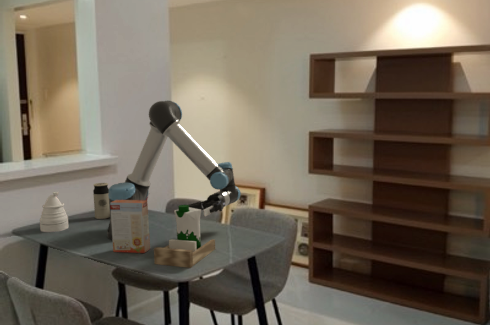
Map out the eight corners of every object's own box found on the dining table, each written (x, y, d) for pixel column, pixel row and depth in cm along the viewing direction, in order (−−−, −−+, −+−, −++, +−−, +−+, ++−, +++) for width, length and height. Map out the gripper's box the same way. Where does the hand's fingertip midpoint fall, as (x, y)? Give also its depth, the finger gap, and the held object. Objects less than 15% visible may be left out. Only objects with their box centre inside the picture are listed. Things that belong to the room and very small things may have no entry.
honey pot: (73, 225, 248) (70, 189, 245) (61, 232, 235) (58, 194, 233) (48, 225, 249) (45, 189, 247) (35, 232, 236) (32, 195, 234)
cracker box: (150, 249, 205) (148, 199, 202) (144, 253, 199) (141, 202, 196) (119, 247, 208) (116, 198, 205) (112, 252, 202) (109, 202, 199)
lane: (154, 264, 186) (153, 248, 185) (182, 246, 208) (181, 232, 207) (190, 267, 181) (189, 251, 180) (215, 249, 202) (214, 234, 202)
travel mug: (96, 216, 265) (94, 183, 263) (111, 215, 266) (109, 182, 264) (93, 219, 258) (91, 185, 255) (109, 218, 258) (107, 184, 256)
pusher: (169, 256, 193) (168, 240, 192) (171, 255, 194) (170, 239, 194) (195, 259, 189) (194, 242, 188) (197, 258, 191) (196, 241, 190)
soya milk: (173, 254, 196) (171, 205, 194) (190, 249, 203) (188, 201, 201) (188, 259, 191) (186, 208, 188) (205, 253, 197) (203, 204, 195)
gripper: (243, 208, 217) (217, 221, 199) (196, 209, 229) (168, 222, 211) (240, 191, 216) (214, 203, 198) (193, 193, 229) (165, 205, 210)
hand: (190, 213), depth 205 cm, fingers open, 13 cm apart
